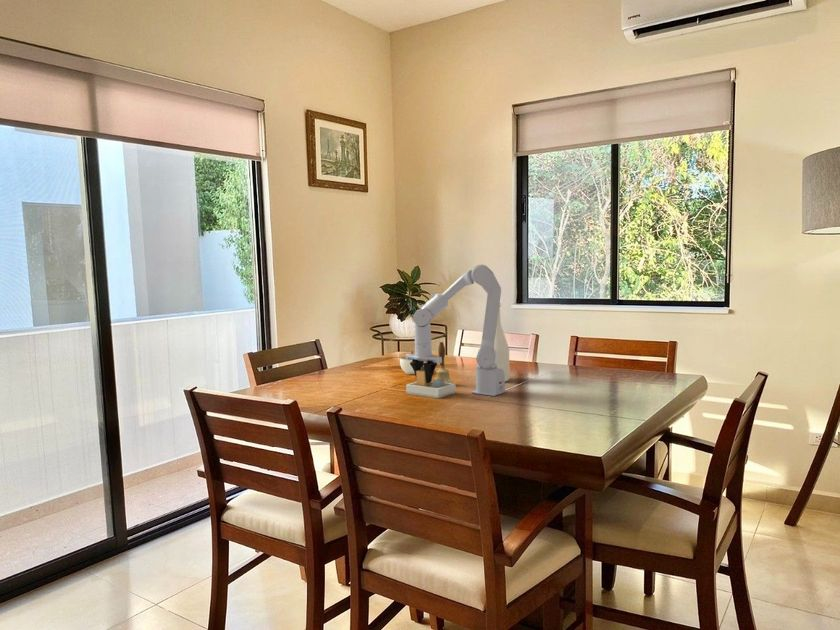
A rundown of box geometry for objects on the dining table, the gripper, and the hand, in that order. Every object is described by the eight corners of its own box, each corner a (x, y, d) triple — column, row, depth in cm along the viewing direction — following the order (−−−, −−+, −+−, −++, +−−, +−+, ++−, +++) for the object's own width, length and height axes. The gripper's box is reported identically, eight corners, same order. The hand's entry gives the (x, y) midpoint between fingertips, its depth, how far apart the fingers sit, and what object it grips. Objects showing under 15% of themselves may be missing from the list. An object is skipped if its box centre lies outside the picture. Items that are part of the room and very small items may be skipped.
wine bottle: (509, 377, 236) (507, 300, 233) (510, 382, 226) (508, 302, 224) (484, 378, 237) (482, 300, 234) (484, 382, 227) (482, 302, 225)
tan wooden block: (430, 386, 214) (430, 366, 213) (424, 388, 211) (424, 368, 211) (422, 385, 216) (422, 365, 216) (416, 387, 213) (416, 367, 213)
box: (455, 392, 212) (455, 378, 212) (438, 398, 204) (438, 383, 204) (423, 388, 221) (423, 374, 220) (406, 393, 213) (405, 379, 212)
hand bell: (427, 386, 225) (426, 343, 223) (437, 382, 232) (436, 340, 231) (448, 387, 221) (447, 344, 219) (457, 383, 228) (456, 341, 227)
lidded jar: (395, 372, 255) (394, 350, 254) (418, 369, 259) (418, 347, 258) (406, 376, 245) (405, 353, 244) (430, 373, 249) (429, 350, 249)
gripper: (399, 343, 214) (401, 381, 215) (432, 346, 205) (433, 385, 206) (412, 341, 219) (413, 378, 221) (445, 343, 210) (446, 382, 212)
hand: (424, 381), depth 214 cm, fingers closed on tan wooden block, 3 cm apart
